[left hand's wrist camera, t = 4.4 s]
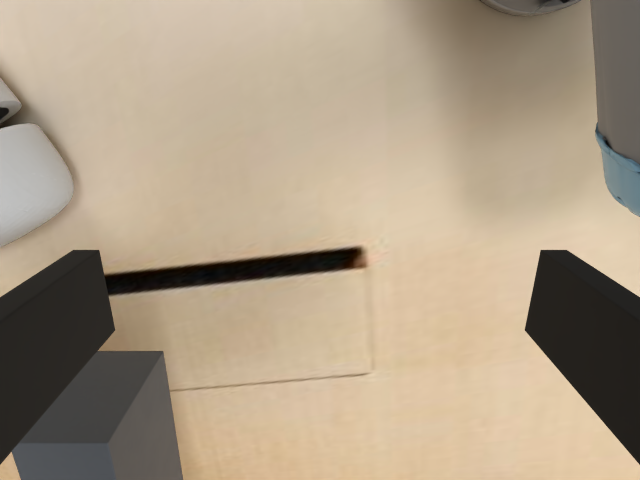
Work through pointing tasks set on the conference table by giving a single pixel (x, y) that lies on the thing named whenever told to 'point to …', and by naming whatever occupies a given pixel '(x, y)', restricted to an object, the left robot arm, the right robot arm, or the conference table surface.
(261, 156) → the conference table surface
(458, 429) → the conference table surface
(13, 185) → the projector
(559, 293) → the left robot arm
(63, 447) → the bar
